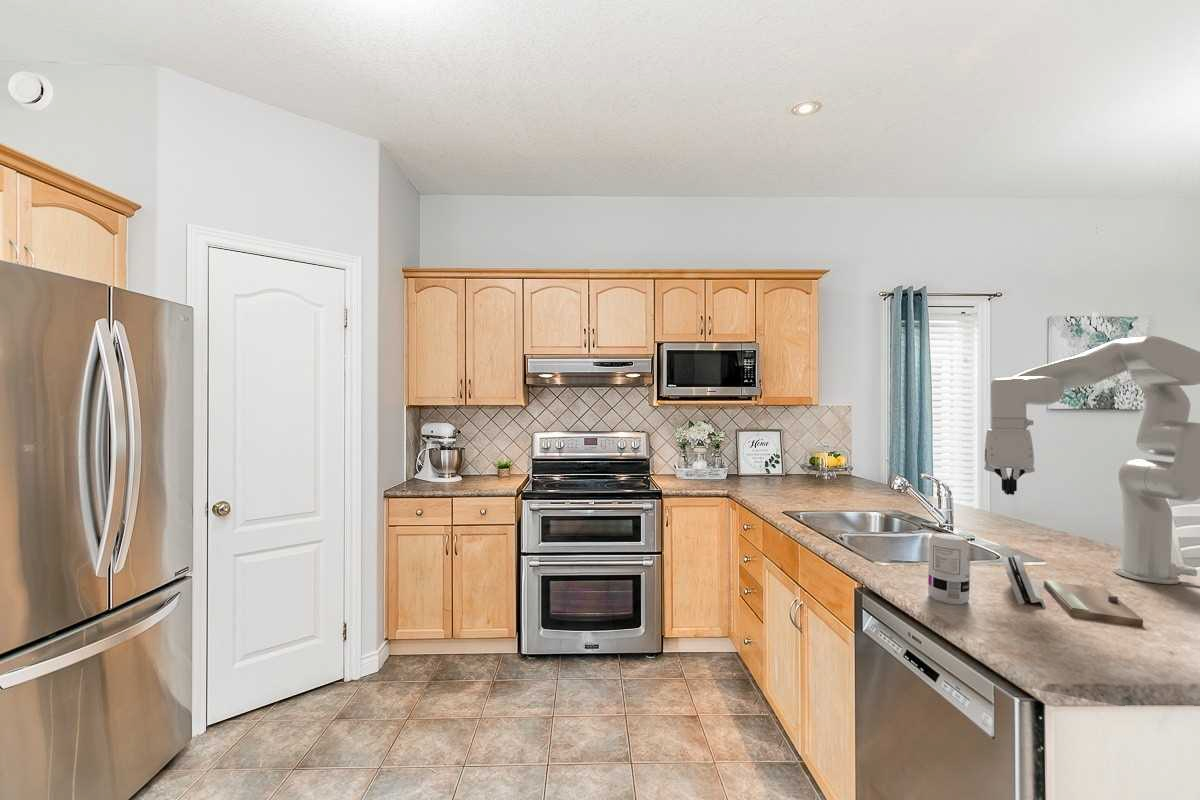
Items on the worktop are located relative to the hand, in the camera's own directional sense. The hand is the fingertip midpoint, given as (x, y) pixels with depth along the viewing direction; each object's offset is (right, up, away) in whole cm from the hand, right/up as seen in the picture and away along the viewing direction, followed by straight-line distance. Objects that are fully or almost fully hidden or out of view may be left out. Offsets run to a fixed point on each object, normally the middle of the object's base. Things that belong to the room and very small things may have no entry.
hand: (1009, 493), depth 147 cm
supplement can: (-26, -23, -15) cm, 37 cm away
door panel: (+5, -23, -18) cm, 29 cm away
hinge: (-5, -23, -11) cm, 26 cm away
